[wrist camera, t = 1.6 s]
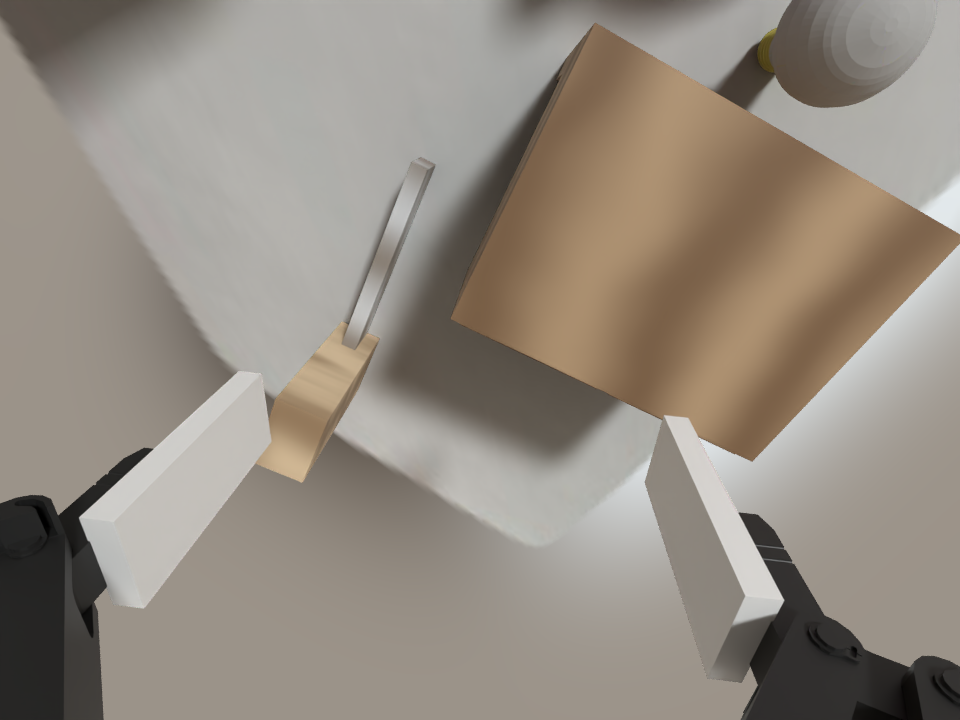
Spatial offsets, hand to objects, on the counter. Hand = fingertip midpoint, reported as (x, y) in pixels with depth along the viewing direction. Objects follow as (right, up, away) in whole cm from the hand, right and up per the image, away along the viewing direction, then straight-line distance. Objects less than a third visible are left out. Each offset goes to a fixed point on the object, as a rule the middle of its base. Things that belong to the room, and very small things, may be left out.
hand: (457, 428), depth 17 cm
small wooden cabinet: (+10, +11, +15) cm, 22 cm away
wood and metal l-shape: (-6, +8, +19) cm, 21 cm away
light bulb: (+17, +19, +11) cm, 28 cm away
